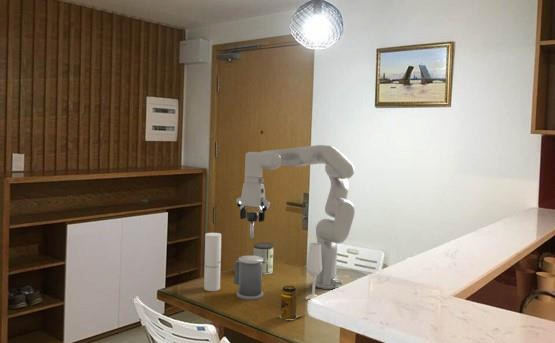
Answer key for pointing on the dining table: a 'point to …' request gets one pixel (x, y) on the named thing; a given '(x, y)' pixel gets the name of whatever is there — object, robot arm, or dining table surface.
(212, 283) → the cylindrical container
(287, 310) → the condiment
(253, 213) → the plunger
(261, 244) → the coffee can
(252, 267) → the press housing
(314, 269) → the champagne flute
